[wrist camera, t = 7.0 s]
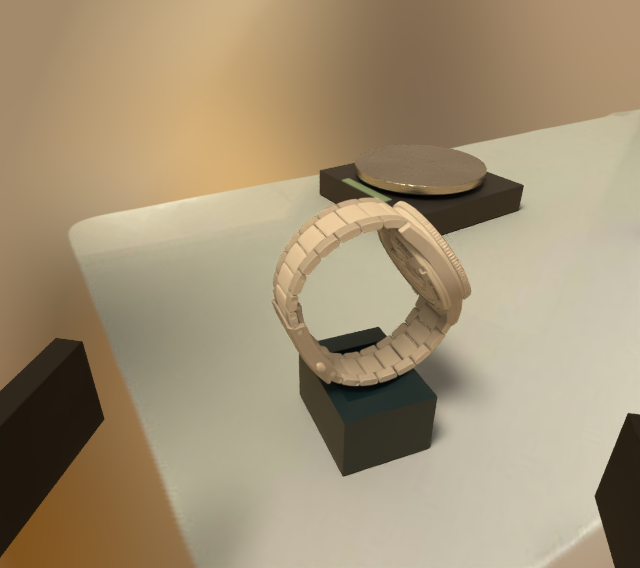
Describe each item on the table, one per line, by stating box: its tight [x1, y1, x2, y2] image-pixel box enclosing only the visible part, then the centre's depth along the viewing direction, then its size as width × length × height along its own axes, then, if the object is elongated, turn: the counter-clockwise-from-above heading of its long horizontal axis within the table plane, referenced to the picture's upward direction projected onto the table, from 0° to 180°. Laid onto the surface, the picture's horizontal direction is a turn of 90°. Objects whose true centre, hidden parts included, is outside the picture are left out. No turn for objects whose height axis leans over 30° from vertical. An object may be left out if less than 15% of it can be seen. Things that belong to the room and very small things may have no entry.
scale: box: [320, 163, 524, 235], centre depth 49 cm, size 13×13×2 cm
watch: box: [272, 197, 471, 476], centre depth 23 cm, size 6×8×11 cm
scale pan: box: [355, 145, 487, 195], centre depth 48 cm, size 12×12×1 cm
